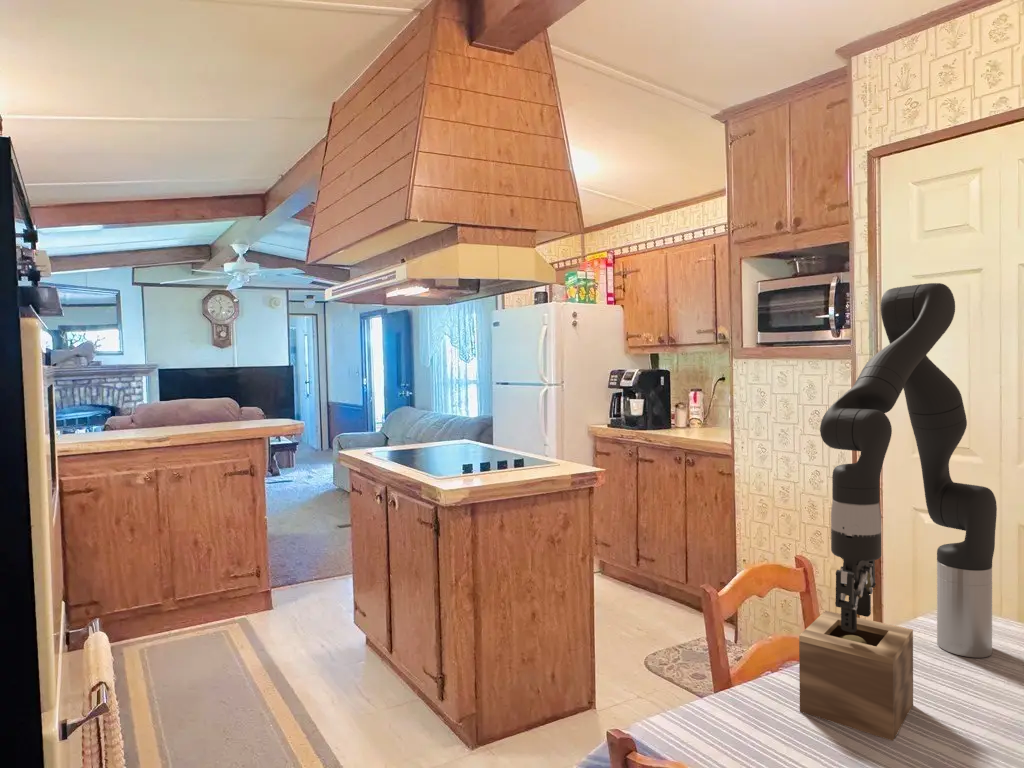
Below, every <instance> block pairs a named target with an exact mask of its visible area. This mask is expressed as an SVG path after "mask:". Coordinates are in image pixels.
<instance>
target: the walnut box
mask: <svg viewBox="0 0 1024 768" xmlns="http://www.w3.org/2000/svg"><path fill="white" fill-rule="evenodd" d="M845 635H856V636H859V637H861V638H863V639H864V640H865V641H866V643H867V644H863V643H859V642H855V641H851V640H847V639H843V638H839V637H841V636H845ZM798 641H799V642H798V644H799V645H798V647H799V648H798V649H799V652H798V653H799V658H798V659H799V660H798V661H799V667H798V668H799V669H798V670H799V676H798V677H799V712H801V713H803V712H804V714H807V715H810V716H813V717H816V716H817V717H816V718H819V717H820V718H819V719H823V720H826V721H829V722H832V723H835V724H839V725H841V726H845V727H848V728H851V729H854V730H856V731H861V732H863V733H866V734H870V735H873V736H876V737H878V738H882V739H884V740H885V739H886V740H888V741H891V742H894V741H895V739H896V737H897V735H898V734H899V732H900V730H901V728H902V726H903V724H904V722H905V721H906V719H907V717H908V715H909V714H910V712H911V709H913V706H914V629H911V628H907V627H903V626H898V625H893V624H889V623H884V622H880V621H875V620H870V619H866V618H861V617H857V630H856V632H854V633H852V632H847V631H844V630H842V628H841V613H838V612H833V611H829V610H825V611H823V612H822V613H821V615H819V616H818V617H817V618H816V619H814V620H813V622H812V623H811V624H809V625H808V626H807V627H806V628H805V629H804V630H803V631H802V632H801V633H800V634H799V636H798Z"/></svg>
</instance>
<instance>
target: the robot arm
mask: <svg viewBox="0 0 1024 768" xmlns="http://www.w3.org/2000/svg"><path fill="white" fill-rule="evenodd" d="M955 312H956V301H955V297H954V294H953V292H952V290H951V289H950V287H949V286H947V285H946V284H945V283H941V282H940V283H939V282H937V283H936V282H931V283H930V282H929V283H923V284H921V283H920V284H913V285H905V286H897V287H893V288H889V289H888V290H886V291H885V292H884V293H883V294H882V297H881V301H880V315H881V319H882V325H883V327H884V330H885V334H886V337H887V340H888V342H889V344H888V345H886V346H885V347H884V348H882V349H881V350H879V351H878V352H876V353H875V354H874V355H873V356H872V357H871V358H870V359H869V360H868V361H867V362H866V364H864V367H862V370H861V372H860V373H859V375H858V377H857V379H856V381H855V382H854V384H853V386H852V387H851V388H850V389H849V390H847V391H846V392H845V393H844V394H842V395H841V397H839V398H838V399H837V400H836V401H835V402H833V404H832V405H831V406H830V407H828V409H827V410H826V411H825V413H824V415H823V416H822V419H821V421H820V426H819V430H820V431H819V432H820V438H821V440H822V442H824V444H825V445H826V446H828V447H829V448H832V449H836V450H844V451H852V452H853V451H854V452H855V451H856V452H860V455H859V457H858V459H857V461H856V462H853V463H845V464H844V463H843V464H839V465H836V466H835V467H834V468H833V469H832V470H833V471H832V475H831V476H832V480H831V481H832V482H831V483H832V498H831V500H832V503H831V511H830V525H831V526H830V550H831V553H832V554H833V556H836V557H838V558H840V559H841V560H843V562H842V566H840V569H836V571H835V604H834V605H835V607H836V608H840V614H841V628H842V630H844V631H847V632H852V633H854V632H856V630H857V618H858V616H861V617H862V616H863V617H866V618H869V617H871V615H872V609H871V608H872V607H871V606H872V605H871V603H872V601H871V600H872V599H871V598H872V594H873V592H874V590H873V589H874V588H875V587H876V585H877V584H876V567H875V565H876V564H875V563H876V560H879V559H880V558H882V513H881V506H880V505H881V504H880V479H881V478H880V477H881V472H882V469H883V465H884V461H885V458H886V455H887V451H888V449H889V446H890V442H891V439H892V434H893V433H892V431H893V429H892V427H893V426H892V424H891V421H890V419H889V417H888V416H887V415H886V413H888V412H890V411H892V409H893V408H894V406H895V405H896V403H897V401H898V399H899V397H900V395H901V394H902V391H903V392H904V397H905V403H906V407H907V412H908V417H909V421H910V423H911V424H910V425H911V427H912V428H911V429H912V431H913V432H912V433H913V435H914V438H915V442H916V447H917V453H918V455H919V461H920V467H921V473H922V480H923V489H924V497H925V504H926V508H927V513H928V515H929V517H930V519H931V521H932V522H933V523H934V524H936V525H937V526H940V527H941V526H942V527H944V528H948V529H949V528H950V529H955V530H959V531H960V530H961V531H965V536H964V540H963V541H961V542H960V541H959V542H953V543H944V544H942V545H939V546H938V547H937V550H936V583H937V584H936V621H937V622H936V643H937V645H938V647H939V648H941V649H942V650H944V651H946V652H949V653H951V654H954V655H957V656H963V657H965V658H966V657H967V658H987V657H990V656H991V655H992V654H993V560H994V559H993V558H994V553H995V544H996V526H997V516H998V515H997V513H998V512H997V509H998V508H997V505H998V504H997V499H996V496H995V494H994V492H993V491H992V489H990V488H989V487H986V486H982V485H975V484H967V483H962V482H960V483H959V482H954V481H953V480H952V478H951V474H950V460H951V458H952V455H953V453H954V452H955V450H956V449H957V447H958V445H959V443H960V442H961V440H962V438H963V436H964V435H965V433H966V430H967V426H968V420H967V415H966V410H965V406H964V401H963V397H962V394H961V391H960V390H959V388H958V387H957V385H956V384H955V383H954V382H953V380H951V379H950V377H948V376H947V374H945V373H944V372H943V371H942V369H940V368H939V367H938V366H937V365H936V364H935V363H934V362H933V361H932V360H931V359H930V358H929V356H927V354H929V352H931V350H932V349H933V348H934V346H935V345H936V344H937V342H939V340H940V339H941V338H942V337H943V336H944V334H945V333H946V332H947V331H948V329H949V327H951V325H952V322H953V320H954V317H955ZM847 596H848V600H846V597H847Z"/></svg>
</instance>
